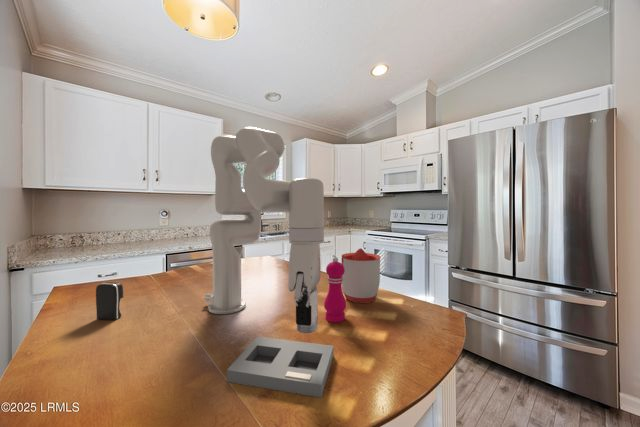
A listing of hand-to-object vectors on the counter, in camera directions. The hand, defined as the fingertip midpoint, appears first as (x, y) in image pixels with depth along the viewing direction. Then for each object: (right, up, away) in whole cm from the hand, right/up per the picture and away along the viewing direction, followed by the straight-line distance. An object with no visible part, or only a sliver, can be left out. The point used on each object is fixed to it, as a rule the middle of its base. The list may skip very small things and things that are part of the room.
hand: (307, 318), depth 56 cm
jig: (-5, -12, +2) cm, 13 cm away
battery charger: (-65, -11, +27) cm, 71 cm away
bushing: (0, -2, 0) cm, 2 cm away
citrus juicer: (+18, -11, +46) cm, 50 cm away
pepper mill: (+8, -11, +27) cm, 31 cm away
